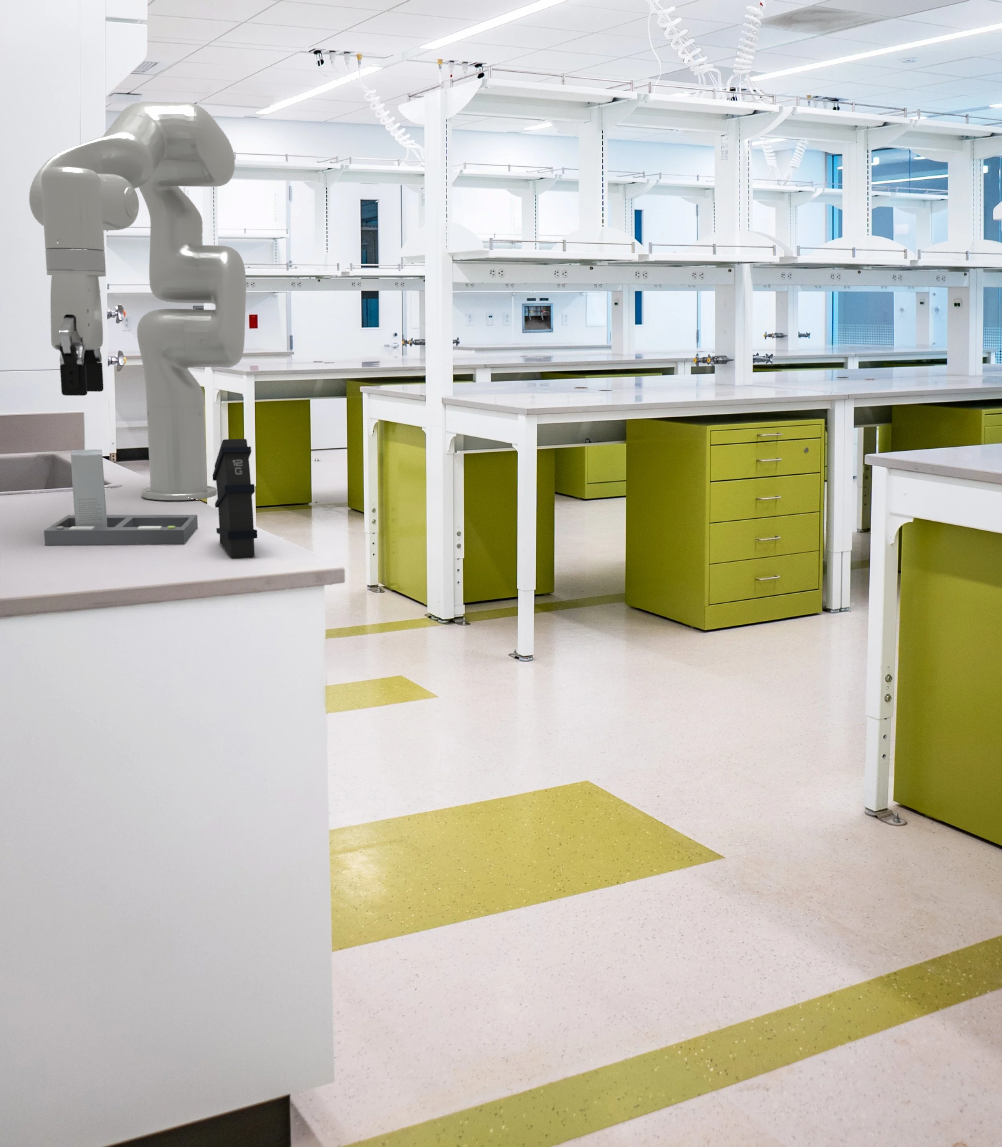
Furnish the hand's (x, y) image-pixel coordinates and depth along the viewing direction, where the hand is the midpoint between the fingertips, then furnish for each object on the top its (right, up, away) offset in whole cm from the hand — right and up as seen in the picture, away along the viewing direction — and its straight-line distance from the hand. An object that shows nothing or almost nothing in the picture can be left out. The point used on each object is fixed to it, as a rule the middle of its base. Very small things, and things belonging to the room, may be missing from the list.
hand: (83, 393), depth 163 cm
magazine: (+22, -22, -3) cm, 31 cm away
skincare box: (0, -20, +4) cm, 20 cm away
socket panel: (+4, -19, +5) cm, 21 cm away
